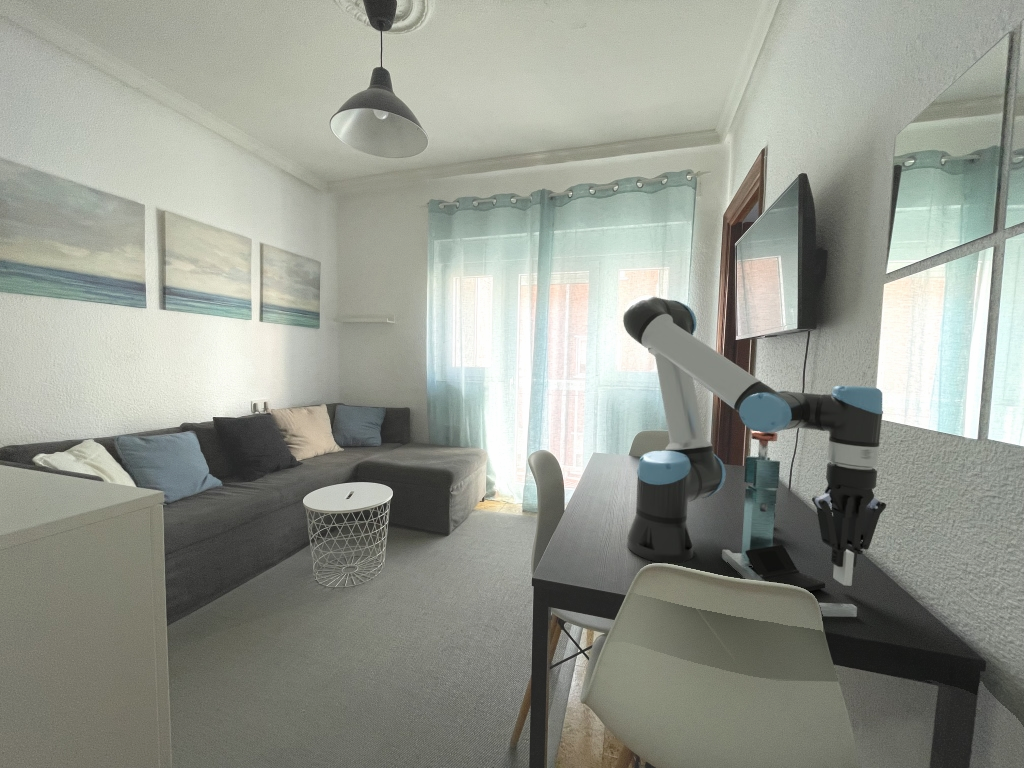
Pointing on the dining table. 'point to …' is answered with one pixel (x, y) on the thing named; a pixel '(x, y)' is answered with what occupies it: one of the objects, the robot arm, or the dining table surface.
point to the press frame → (766, 524)
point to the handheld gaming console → (780, 568)
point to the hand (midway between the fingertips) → (842, 581)
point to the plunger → (763, 442)
